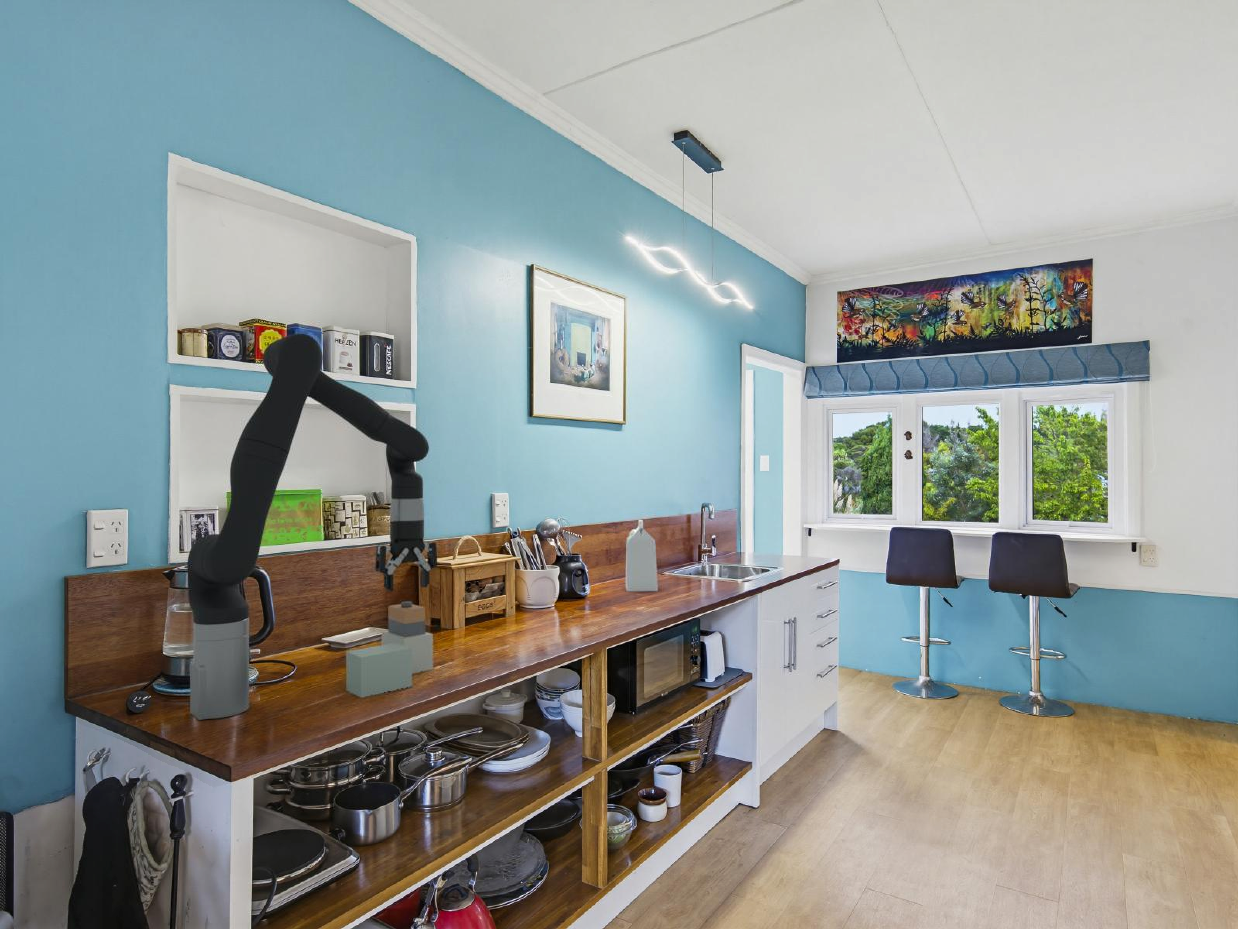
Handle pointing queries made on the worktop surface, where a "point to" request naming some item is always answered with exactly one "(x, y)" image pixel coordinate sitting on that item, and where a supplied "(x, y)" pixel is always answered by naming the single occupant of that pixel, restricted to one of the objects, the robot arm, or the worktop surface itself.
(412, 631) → the bottom plate
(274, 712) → the worktop surface
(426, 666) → the stand
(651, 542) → the milk
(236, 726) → the worktop surface
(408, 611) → the top plate
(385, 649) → the stand
